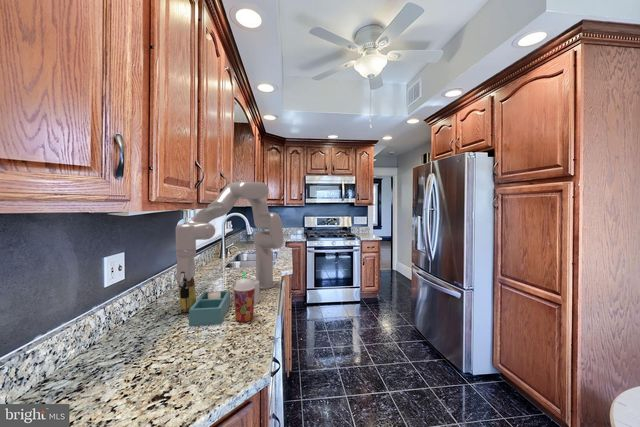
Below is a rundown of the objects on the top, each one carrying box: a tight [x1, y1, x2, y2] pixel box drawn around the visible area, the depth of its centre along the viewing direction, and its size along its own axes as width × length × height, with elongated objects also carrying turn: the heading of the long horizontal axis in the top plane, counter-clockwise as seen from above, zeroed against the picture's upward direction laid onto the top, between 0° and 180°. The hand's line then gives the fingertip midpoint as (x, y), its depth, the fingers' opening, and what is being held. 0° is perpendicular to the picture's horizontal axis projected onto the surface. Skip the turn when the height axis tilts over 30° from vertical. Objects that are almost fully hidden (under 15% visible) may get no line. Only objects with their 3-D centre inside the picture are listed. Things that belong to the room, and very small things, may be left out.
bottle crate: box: [188, 290, 231, 327], centre depth 113 cm, size 22×11×7 cm, turn 9°
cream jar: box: [208, 290, 221, 299], centre depth 118 cm, size 5×5×7 cm
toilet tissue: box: [232, 278, 261, 305], centre depth 128 cm, size 11×12×10 cm
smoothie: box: [232, 270, 255, 323], centre depth 108 cm, size 8×8×20 cm
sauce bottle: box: [178, 277, 197, 313], centre depth 116 cm, size 6×6×20 cm
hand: (187, 294), depth 116 cm, fingers closed on sauce bottle, 6 cm apart
